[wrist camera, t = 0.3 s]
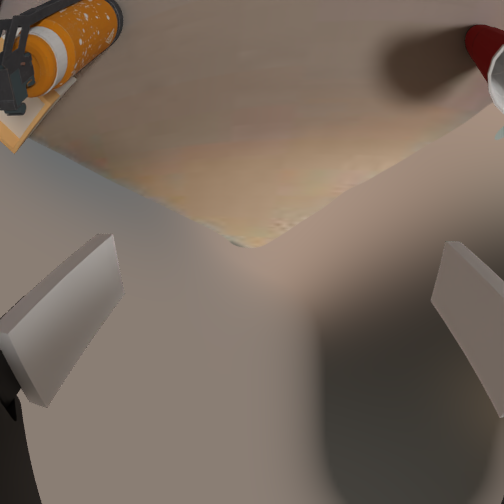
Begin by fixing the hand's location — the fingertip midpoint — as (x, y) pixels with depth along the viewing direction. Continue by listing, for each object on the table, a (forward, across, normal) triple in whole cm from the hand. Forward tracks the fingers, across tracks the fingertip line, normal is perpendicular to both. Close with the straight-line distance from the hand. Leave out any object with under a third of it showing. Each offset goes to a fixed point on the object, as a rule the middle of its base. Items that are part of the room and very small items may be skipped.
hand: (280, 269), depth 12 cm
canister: (+28, -23, +22) cm, 43 cm away
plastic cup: (+28, +27, +19) cm, 43 cm away
